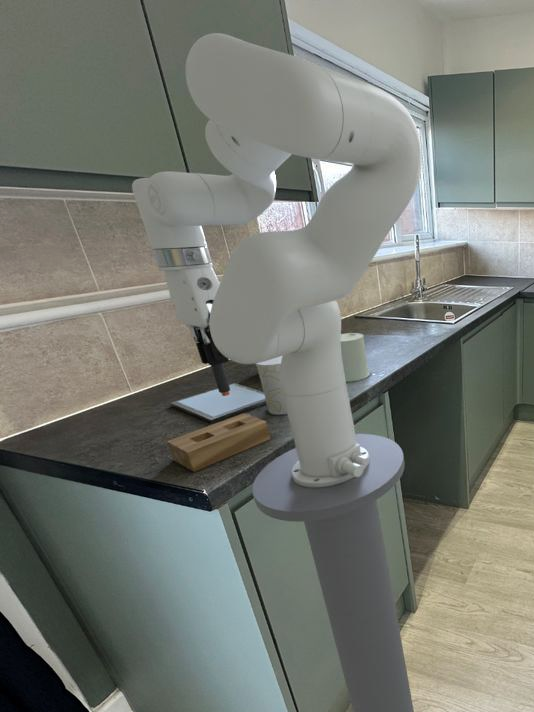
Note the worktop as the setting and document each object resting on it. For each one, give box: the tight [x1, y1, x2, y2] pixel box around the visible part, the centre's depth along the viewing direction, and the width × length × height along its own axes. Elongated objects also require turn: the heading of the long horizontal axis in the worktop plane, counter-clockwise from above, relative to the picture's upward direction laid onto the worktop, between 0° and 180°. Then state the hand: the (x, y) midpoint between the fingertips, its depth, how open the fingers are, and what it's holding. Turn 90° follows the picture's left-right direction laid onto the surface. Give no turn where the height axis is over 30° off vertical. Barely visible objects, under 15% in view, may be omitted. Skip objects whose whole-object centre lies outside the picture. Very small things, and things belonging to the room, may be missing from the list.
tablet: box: [170, 382, 267, 424], centre depth 103 cm, size 20×15×1 cm
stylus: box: [201, 334, 230, 396], centre depth 77 cm, size 2×2×12 cm
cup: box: [256, 356, 288, 416], centre depth 97 cm, size 8×8×12 cm
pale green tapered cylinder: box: [341, 332, 371, 383], centre depth 116 cm, size 9×9×12 cm
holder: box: [166, 412, 271, 473], centre depth 80 cm, size 8×14×4 cm, turn 148°
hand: (215, 362), depth 77 cm, fingers closed on stylus, 1 cm apart
